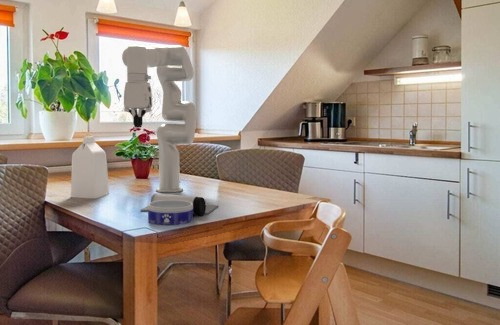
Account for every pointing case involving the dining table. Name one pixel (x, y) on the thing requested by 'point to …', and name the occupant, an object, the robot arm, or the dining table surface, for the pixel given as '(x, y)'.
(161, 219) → the dog bowl
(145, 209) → the mat
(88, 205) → the dining table surface
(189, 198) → the travel mug
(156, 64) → the robot arm
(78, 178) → the milk
